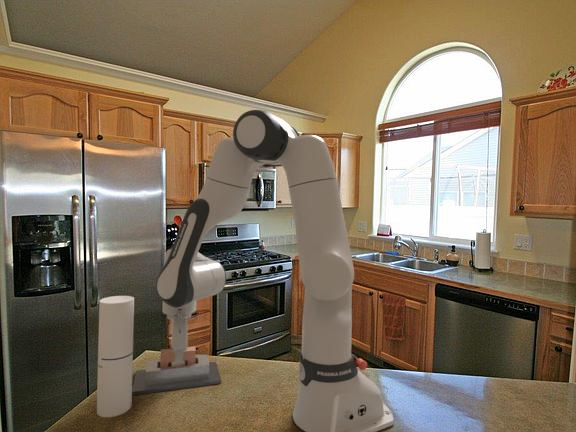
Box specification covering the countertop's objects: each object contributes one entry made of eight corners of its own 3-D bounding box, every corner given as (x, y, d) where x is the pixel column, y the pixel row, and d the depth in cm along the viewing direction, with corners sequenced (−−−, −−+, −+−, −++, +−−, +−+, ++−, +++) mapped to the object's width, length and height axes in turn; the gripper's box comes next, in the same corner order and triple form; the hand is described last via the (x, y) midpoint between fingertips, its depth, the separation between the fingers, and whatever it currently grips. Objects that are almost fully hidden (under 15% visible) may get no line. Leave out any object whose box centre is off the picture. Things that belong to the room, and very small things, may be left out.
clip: (194, 371, 96) (195, 346, 96) (195, 375, 93) (195, 350, 93) (160, 375, 93) (160, 349, 93) (159, 380, 90) (160, 353, 90)
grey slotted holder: (216, 364, 103) (216, 350, 103) (221, 383, 91) (221, 367, 91) (136, 373, 96) (136, 358, 96) (131, 395, 84) (131, 377, 84)
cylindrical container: (117, 419, 74) (120, 304, 74) (89, 414, 76) (91, 302, 76) (138, 402, 81) (140, 297, 81) (111, 398, 83) (114, 294, 83)
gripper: (193, 314, 84) (192, 370, 84) (189, 295, 104) (188, 341, 104) (166, 316, 82) (165, 373, 82) (167, 296, 102) (166, 343, 102)
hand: (178, 355), depth 93 cm, fingers open, 8 cm apart
